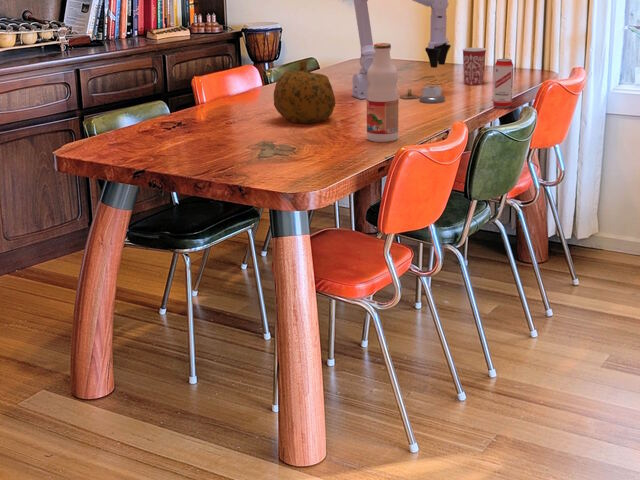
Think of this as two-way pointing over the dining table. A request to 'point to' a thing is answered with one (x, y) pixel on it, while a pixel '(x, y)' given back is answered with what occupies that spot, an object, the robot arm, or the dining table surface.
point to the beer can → (503, 83)
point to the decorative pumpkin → (304, 96)
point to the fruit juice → (382, 96)
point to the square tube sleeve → (431, 91)
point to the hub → (432, 99)
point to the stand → (409, 95)
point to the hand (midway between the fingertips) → (437, 65)
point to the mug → (473, 65)
